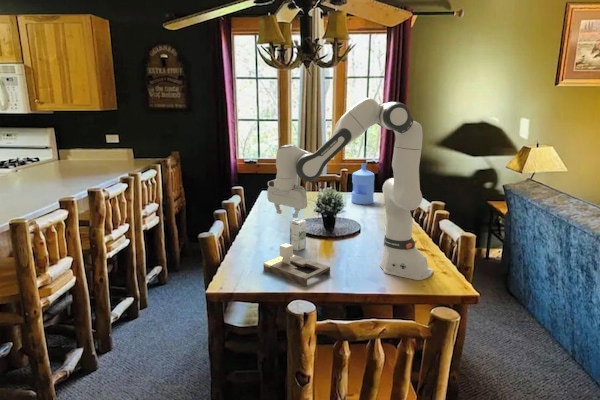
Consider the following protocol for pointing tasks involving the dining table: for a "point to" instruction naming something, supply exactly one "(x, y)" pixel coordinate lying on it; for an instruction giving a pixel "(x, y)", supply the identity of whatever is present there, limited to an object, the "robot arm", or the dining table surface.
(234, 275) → the dining table surface
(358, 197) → the water jug
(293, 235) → the syrup box
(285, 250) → the keyed peg
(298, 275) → the keyhole plate
